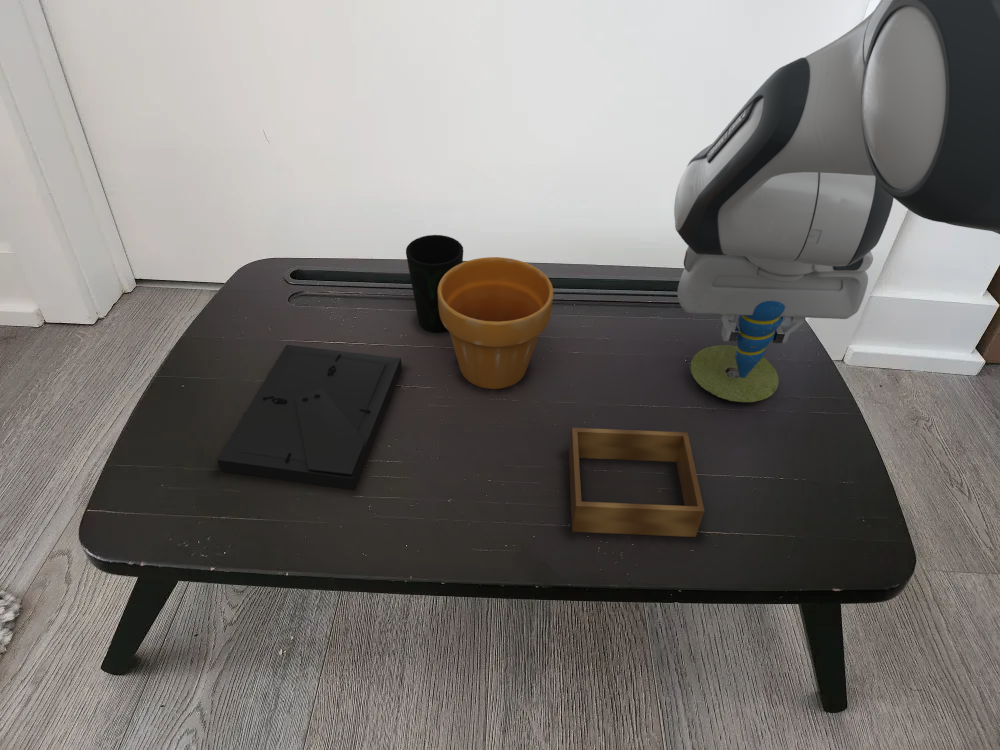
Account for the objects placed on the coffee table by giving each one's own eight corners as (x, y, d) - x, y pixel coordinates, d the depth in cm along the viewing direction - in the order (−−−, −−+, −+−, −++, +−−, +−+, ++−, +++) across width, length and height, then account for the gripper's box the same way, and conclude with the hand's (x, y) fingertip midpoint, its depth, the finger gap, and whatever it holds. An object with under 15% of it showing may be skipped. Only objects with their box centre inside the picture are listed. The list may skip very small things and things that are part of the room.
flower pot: (549, 339, 102) (555, 260, 93) (543, 408, 91) (550, 327, 83) (449, 331, 103) (447, 252, 94) (433, 399, 92) (428, 318, 83)
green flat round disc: (792, 388, 95) (796, 377, 94) (738, 425, 90) (742, 414, 88) (723, 345, 102) (727, 334, 100) (670, 377, 96) (672, 366, 95)
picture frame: (354, 490, 81) (402, 370, 96) (351, 473, 79) (400, 353, 94) (221, 471, 83) (288, 356, 98) (215, 455, 81) (285, 340, 96)
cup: (443, 299, 108) (441, 228, 100) (475, 323, 104) (474, 252, 96) (401, 318, 105) (394, 246, 97) (431, 344, 100) (427, 271, 92)
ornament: (763, 393, 89) (799, 293, 79) (720, 387, 90) (751, 287, 80) (759, 366, 93) (793, 268, 83) (718, 361, 94) (747, 263, 84)
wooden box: (680, 458, 85) (687, 432, 82) (695, 537, 77) (704, 511, 74) (568, 453, 86) (571, 427, 83) (572, 532, 77) (576, 505, 74)
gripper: (694, 251, 76) (670, 352, 85) (889, 259, 76) (845, 359, 85) (684, 221, 81) (663, 320, 90) (868, 228, 81) (828, 326, 90)
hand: (753, 339), depth 87 cm, fingers closed on ornament, 4 cm apart
